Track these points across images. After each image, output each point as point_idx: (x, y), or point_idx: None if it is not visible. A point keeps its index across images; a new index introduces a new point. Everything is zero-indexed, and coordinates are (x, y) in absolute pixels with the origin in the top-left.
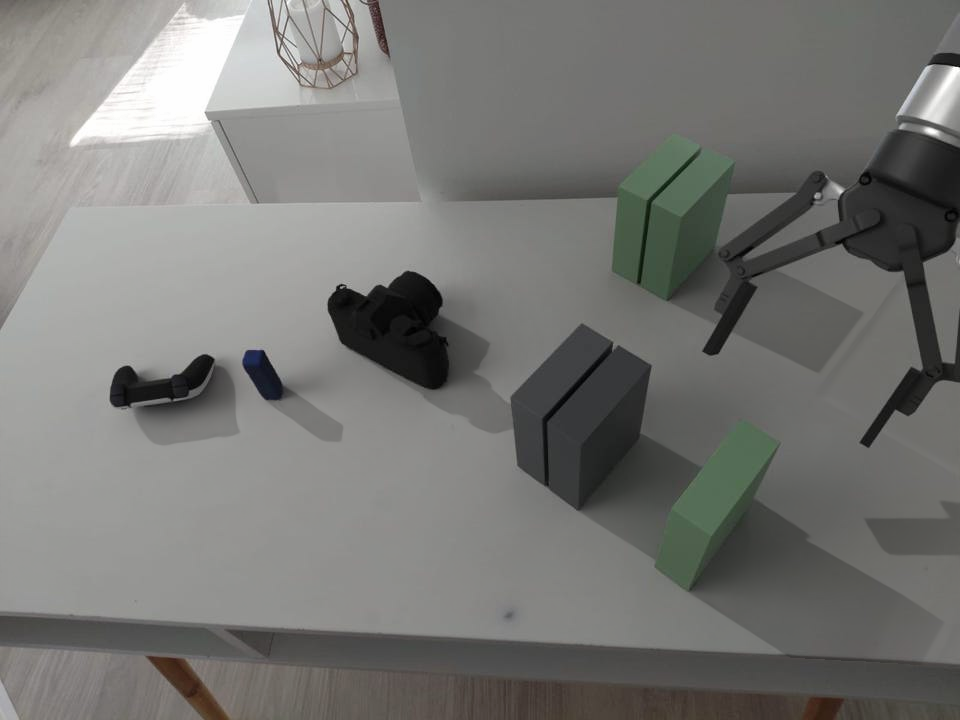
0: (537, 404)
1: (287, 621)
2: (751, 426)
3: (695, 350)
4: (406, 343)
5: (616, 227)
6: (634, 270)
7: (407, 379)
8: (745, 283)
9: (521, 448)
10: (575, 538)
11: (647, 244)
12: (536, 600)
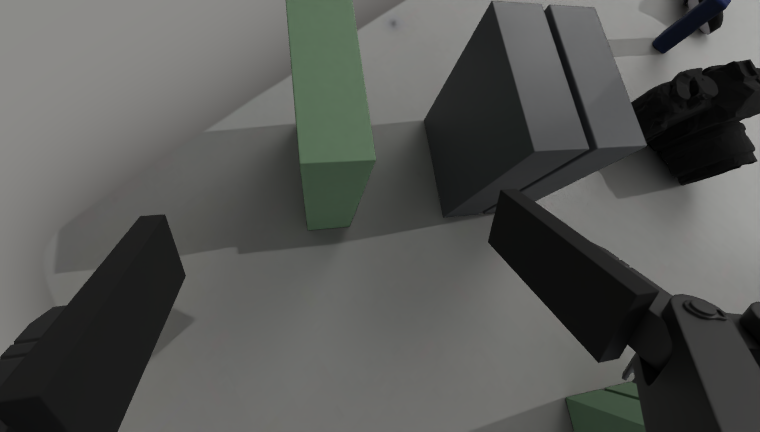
0: (568, 15)
1: None
2: (354, 158)
3: (487, 362)
4: (682, 73)
5: None
6: (631, 392)
7: None
8: (650, 293)
9: None
10: (405, 99)
11: None
12: (387, 43)
